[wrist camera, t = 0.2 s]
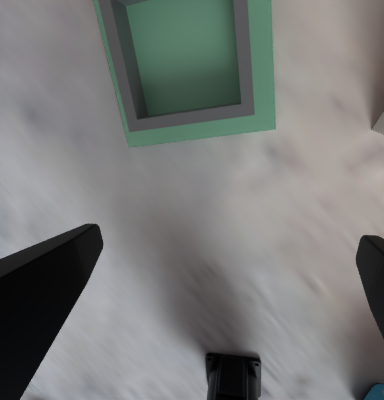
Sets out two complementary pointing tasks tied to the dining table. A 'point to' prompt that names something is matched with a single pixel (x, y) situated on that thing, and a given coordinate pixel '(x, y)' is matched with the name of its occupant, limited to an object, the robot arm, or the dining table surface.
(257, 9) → the green and grey tray
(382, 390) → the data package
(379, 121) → the white rectangular block
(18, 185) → the dining table surface
